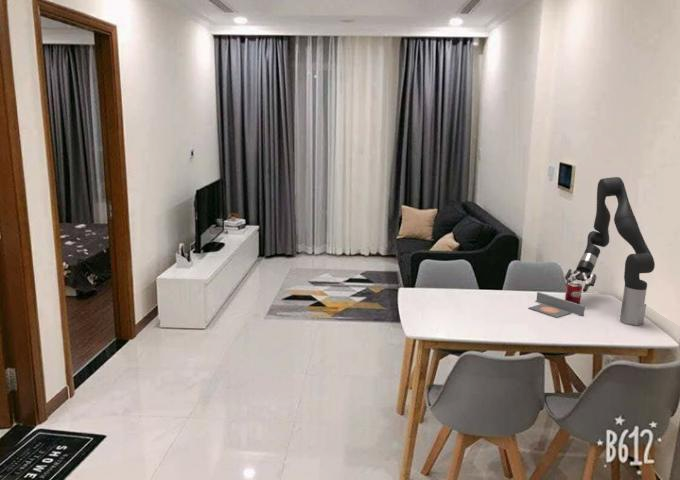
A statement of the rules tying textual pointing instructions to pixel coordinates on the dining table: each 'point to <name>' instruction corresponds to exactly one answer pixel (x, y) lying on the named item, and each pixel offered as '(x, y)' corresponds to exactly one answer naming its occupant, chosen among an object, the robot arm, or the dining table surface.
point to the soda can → (573, 292)
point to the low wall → (560, 303)
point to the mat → (550, 310)
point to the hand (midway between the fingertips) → (575, 289)
